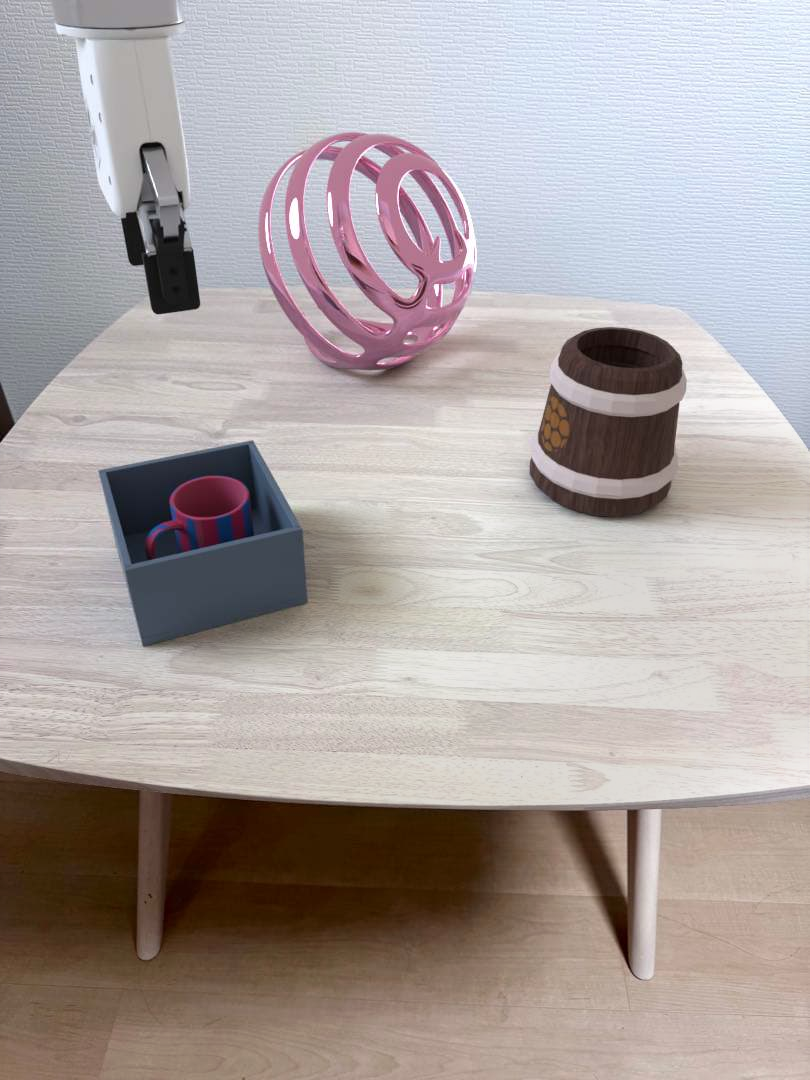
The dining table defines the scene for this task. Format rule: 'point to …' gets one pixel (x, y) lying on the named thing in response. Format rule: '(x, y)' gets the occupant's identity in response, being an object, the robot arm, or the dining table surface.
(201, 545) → the cup
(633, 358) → the mug
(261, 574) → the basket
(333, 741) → the dining table surface
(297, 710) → the dining table surface
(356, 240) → the spiral basket
